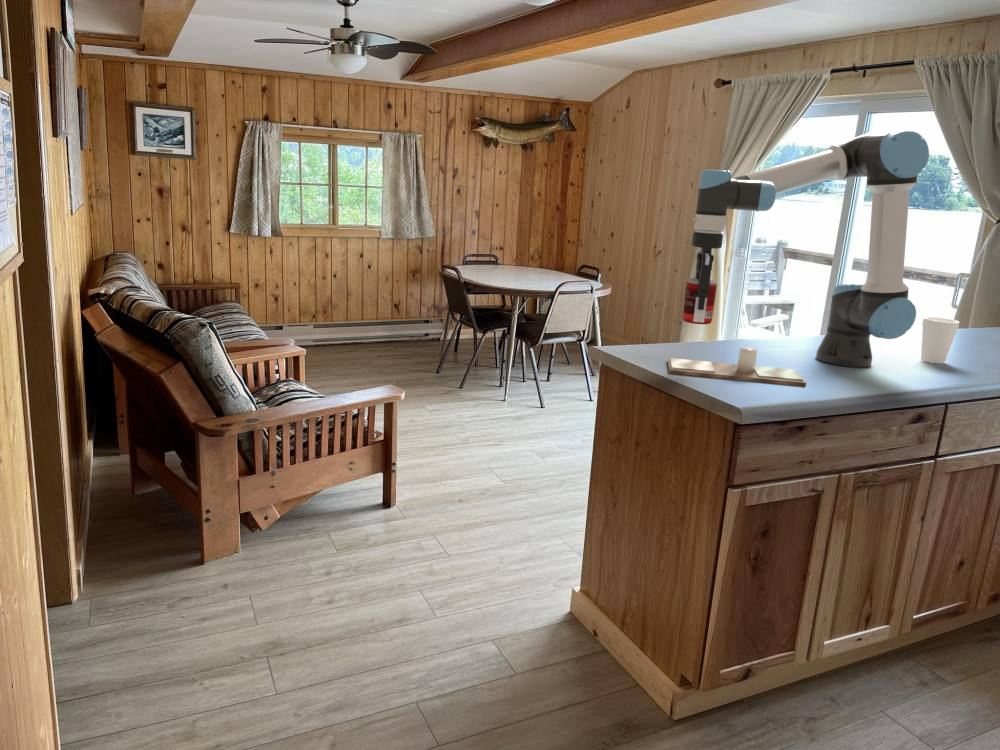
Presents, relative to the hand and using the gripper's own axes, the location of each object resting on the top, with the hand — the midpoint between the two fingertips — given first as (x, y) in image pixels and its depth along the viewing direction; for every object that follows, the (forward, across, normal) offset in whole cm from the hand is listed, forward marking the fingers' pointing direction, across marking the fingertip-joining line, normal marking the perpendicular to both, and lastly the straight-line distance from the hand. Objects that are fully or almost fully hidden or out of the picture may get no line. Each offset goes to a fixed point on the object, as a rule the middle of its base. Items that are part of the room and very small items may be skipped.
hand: (697, 318), depth 197 cm
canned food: (+1, 0, 0) cm, 1 cm away
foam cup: (+14, -41, +75) cm, 87 cm away
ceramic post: (+14, 0, +14) cm, 20 cm away
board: (+14, 0, +11) cm, 18 cm away
